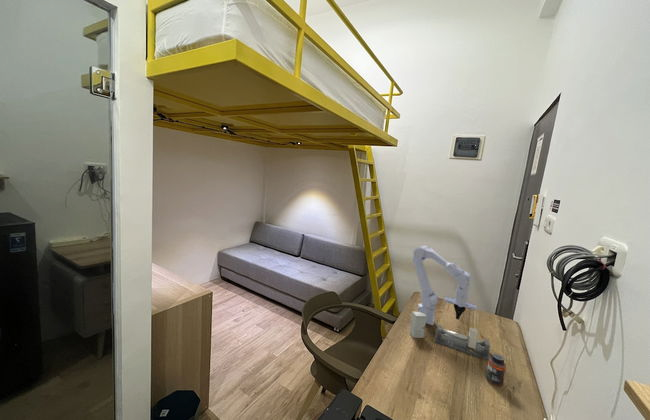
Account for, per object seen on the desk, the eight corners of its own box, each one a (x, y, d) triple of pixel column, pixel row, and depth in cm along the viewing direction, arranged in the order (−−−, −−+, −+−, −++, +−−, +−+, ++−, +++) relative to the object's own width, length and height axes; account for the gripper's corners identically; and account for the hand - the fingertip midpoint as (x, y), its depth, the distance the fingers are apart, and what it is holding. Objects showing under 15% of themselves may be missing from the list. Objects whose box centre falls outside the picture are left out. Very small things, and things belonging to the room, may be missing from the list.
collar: (468, 346, 120) (470, 331, 119) (467, 341, 124) (469, 326, 123) (475, 349, 118) (478, 333, 117) (473, 343, 123) (476, 328, 122)
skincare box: (413, 338, 125) (416, 316, 124) (408, 332, 130) (411, 311, 128) (424, 337, 126) (427, 316, 125) (419, 332, 130) (422, 311, 129)
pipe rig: (434, 342, 123) (436, 332, 122) (435, 330, 134) (436, 320, 133) (490, 361, 113) (492, 350, 112) (486, 346, 124) (488, 336, 123)
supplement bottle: (499, 378, 103) (504, 354, 101) (505, 389, 97) (510, 363, 96) (483, 373, 105) (488, 349, 103) (487, 384, 99) (492, 359, 98)
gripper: (446, 293, 129) (442, 317, 130) (478, 301, 122) (473, 326, 124) (446, 288, 135) (442, 311, 136) (476, 296, 128) (472, 320, 130)
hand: (457, 318), depth 131 cm, fingers closed
